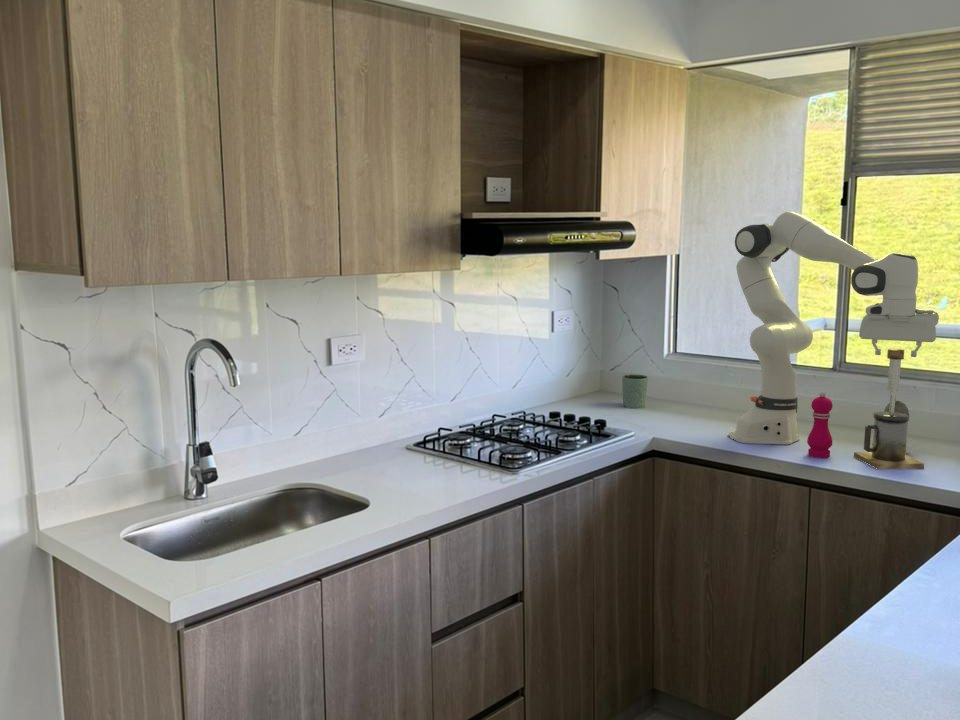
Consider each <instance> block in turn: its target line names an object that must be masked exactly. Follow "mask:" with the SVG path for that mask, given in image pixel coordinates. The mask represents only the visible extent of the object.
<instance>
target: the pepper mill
mask: <svg viewBox="0 0 960 720" xmlns="http://www.w3.org/2000/svg"><path fill="white" fill-rule="evenodd" d="M826 396H827V395H826V392H824V391H820V392H819V396H817V397H814V399H812V400H811V407H810V408H811V409H812V410H813V412H812V417H813V426H812V428H811V430H810V433H809V434H808V435H807V436H808V437H807V441H806V442H807V445H808V446H809V448H808V451H807V455H808V456H809V457H812V458H816V459H829V458H830V456H831V450H830V448H831V447H832V446H833V436H832V435H831V432H830V429H829V419H831V410H832V409H833V406H834V404H833V402H832V401H833V400H831V399H830V398H829V397H826ZM828 457H829V458H828Z"/></svg>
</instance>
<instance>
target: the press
mask: <svg viewBox="0 0 960 720" xmlns="http://www.w3.org/2000/svg"><path fill="white" fill-rule="evenodd" d="M896 393H897V391H890V393H889V403H890V406H889V412H884V411H876V412H874V413H873V415H872V416H873V418H874V419H873V424H867V425H865V426H864V440H863V441H864V443H863V450H864V451H865V452H872V457H873V458H875V459H878V460H883V461H891V462H900V461H904V460H905V455H907V454H906V453H907V452H906V451H907V441H908V440H907V439H908V426H909V421H910V414H909V415H906V414H902V413H897V412H894V408H895V395H896ZM872 430H873V431H872ZM872 432H873V435H872ZM871 437H872V447H871Z"/></svg>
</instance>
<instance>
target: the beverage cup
mask: <svg viewBox="0 0 960 720" xmlns="http://www.w3.org/2000/svg"><path fill="white" fill-rule="evenodd" d="M896 397H897V396H896V394H895V408H894V412H897V413H902V414H906V415H909V416H910V412H909V408H908V406H907V405H906V404H905V403H904V402H902V401H900V400H897V398H896ZM889 406H890V402H889V403H887V404H886V406H885V407H884V410H883V412H889Z"/></svg>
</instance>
